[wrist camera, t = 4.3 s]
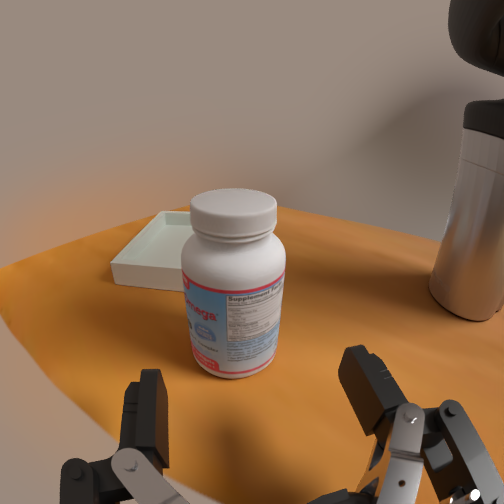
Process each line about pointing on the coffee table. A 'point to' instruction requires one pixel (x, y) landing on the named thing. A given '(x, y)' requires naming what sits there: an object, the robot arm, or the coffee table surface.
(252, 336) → the pill bottle
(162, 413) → the robot arm
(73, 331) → the coffee table surface
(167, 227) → the tray
